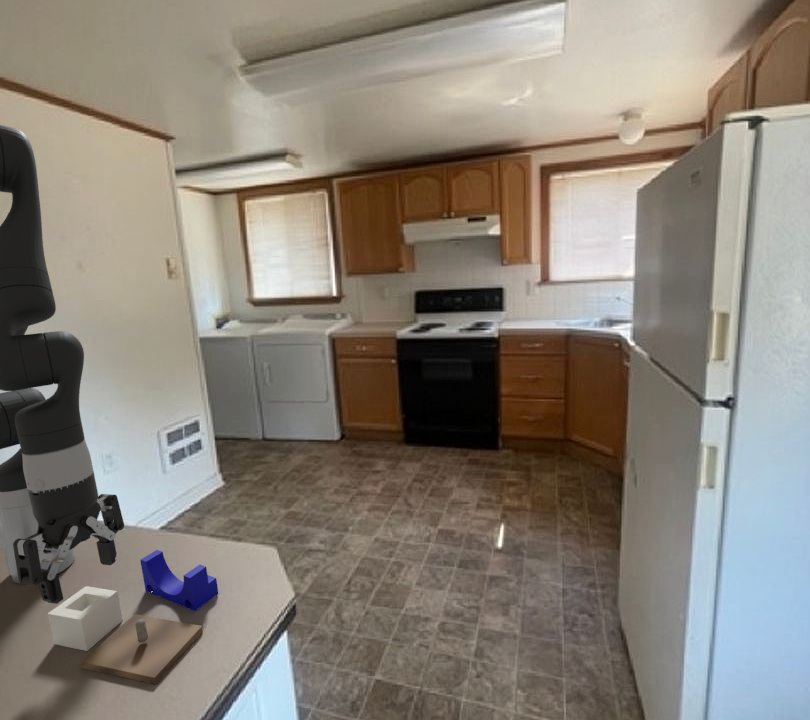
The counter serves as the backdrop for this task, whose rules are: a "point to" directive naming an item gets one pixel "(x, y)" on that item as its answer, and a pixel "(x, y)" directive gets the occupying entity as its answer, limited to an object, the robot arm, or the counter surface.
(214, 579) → the blue curved saddle bracket
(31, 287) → the robot arm
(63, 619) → the white hollow square block
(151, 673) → the pin base
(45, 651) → the counter surface
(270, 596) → the counter surface
